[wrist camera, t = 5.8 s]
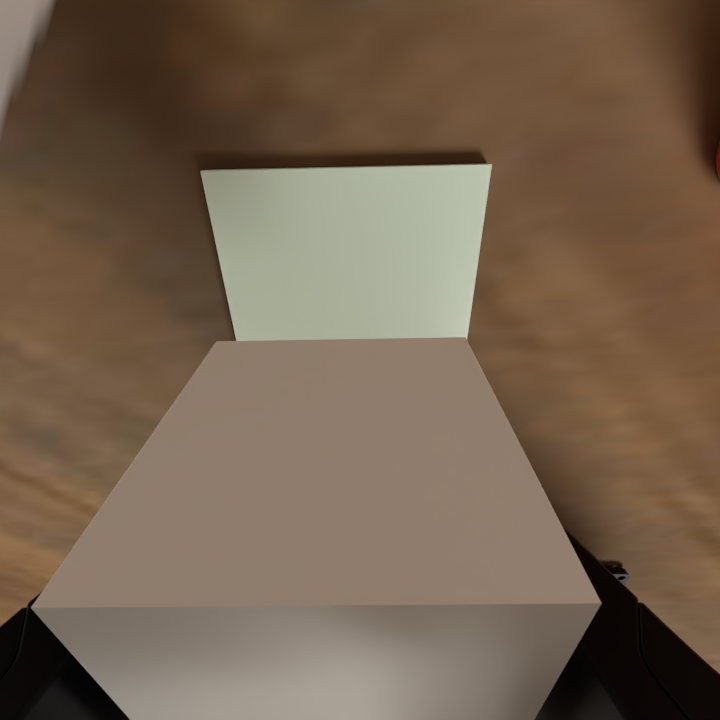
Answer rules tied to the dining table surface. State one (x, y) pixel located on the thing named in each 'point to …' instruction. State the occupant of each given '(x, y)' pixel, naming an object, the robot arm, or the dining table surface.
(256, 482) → the cube
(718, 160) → the beverage can
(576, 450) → the dining table surface
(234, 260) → the pad
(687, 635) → the dining table surface
